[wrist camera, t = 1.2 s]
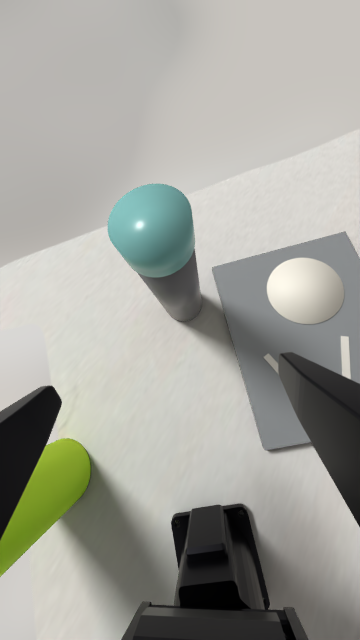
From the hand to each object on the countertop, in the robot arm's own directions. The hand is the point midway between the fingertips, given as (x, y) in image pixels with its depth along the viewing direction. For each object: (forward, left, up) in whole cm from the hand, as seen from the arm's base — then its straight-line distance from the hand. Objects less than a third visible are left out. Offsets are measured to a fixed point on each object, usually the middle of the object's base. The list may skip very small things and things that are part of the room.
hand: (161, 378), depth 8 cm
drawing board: (+1, -12, -13) cm, 18 cm away
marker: (+7, -1, -13) cm, 15 cm away
